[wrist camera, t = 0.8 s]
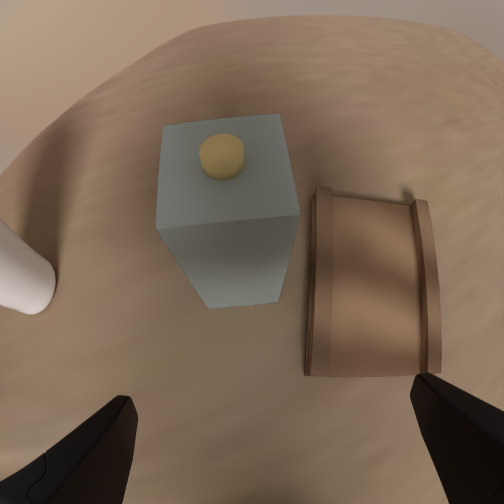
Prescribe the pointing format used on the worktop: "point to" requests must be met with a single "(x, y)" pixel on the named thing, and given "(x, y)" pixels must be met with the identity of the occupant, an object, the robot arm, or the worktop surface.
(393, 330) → the walnut trough
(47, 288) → the white cylinder
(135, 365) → the worktop surface
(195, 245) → the block
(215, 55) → the worktop surface
